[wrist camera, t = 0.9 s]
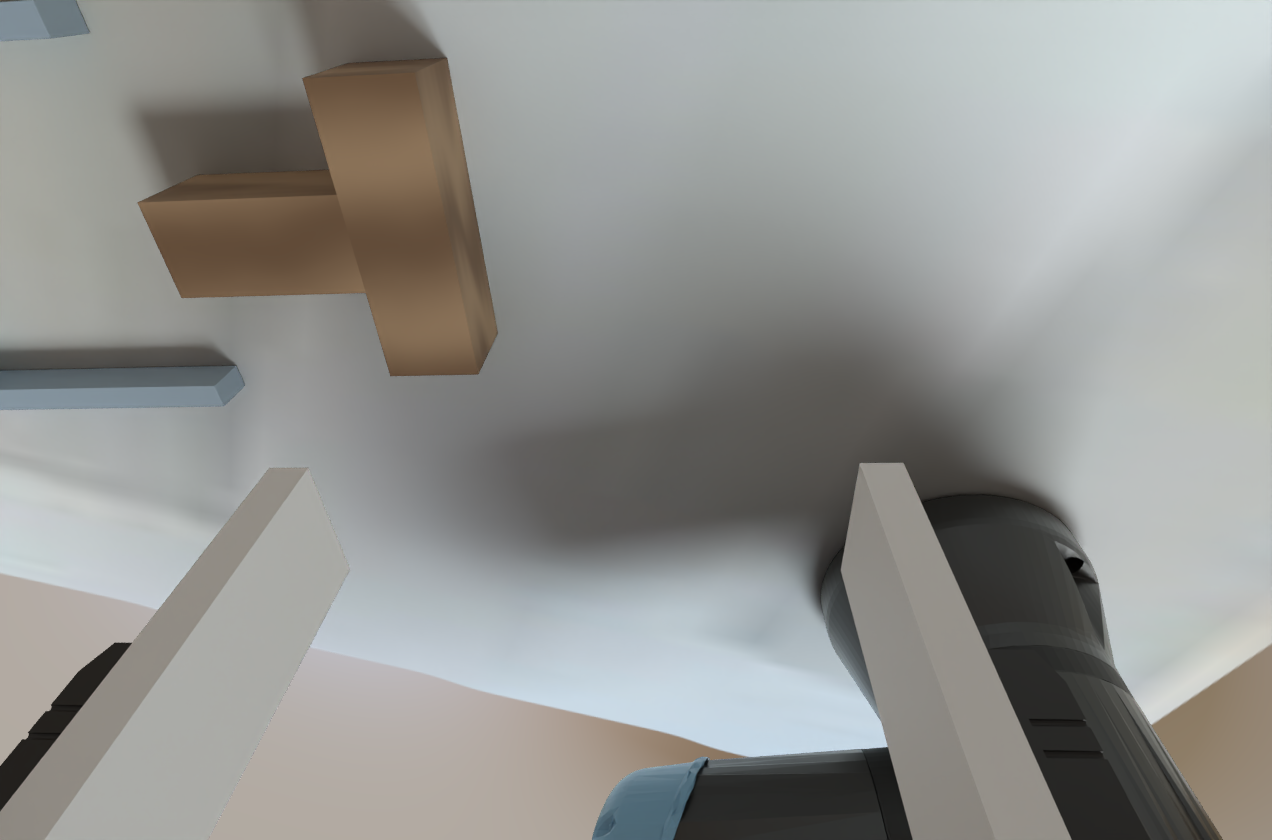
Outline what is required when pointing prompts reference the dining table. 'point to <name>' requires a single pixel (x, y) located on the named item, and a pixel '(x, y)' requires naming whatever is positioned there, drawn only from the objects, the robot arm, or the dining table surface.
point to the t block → (352, 219)
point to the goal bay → (51, 16)
